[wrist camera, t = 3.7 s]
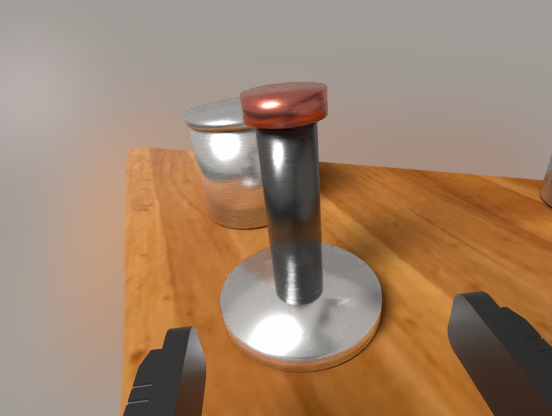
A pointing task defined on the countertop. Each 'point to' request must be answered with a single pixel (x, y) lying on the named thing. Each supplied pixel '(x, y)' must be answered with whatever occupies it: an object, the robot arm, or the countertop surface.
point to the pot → (227, 164)
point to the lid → (296, 249)
